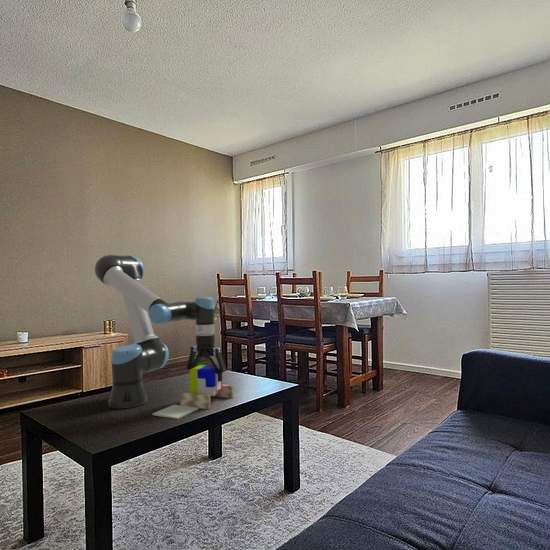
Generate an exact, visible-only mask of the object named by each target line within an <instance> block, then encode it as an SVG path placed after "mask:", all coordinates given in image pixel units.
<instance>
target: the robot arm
mask: <svg viewBox="0 0 550 550" xmlns="http://www.w3.org/2000/svg"><path fill="white" fill-rule="evenodd" d="M94 273H95V274H94V275H95V276H96V277H97V279H98V280H99V281H100V282H101V283H103V285H105V286H107V287H112V288H113V289H115V290H116V291H117V292H119V293H120V294H121V296H122V299H123V302H124V306H125V309H126V314H127V317H128V321H129V324H130V327H131V331H132V336H133V338H134V342H133V344H132V343H131V344H127V345H122V346H119V347H116V348H115V349H113V350H112V353H111V360H110V361H111V375H112V376H111V377H112V383H111V384H112V388H111V392H110V394H109V398H108V403H107V404H108V407H109V408H110V409H116V410H117V409H119V410H121V409H122V410H123V409H129V408H136V407H139V406H143V405H145V404H146V403H147V402H148V395H147V393H146V389H145V387H144V385H143V384H144V383H143V374H147V373H150V372H155V371H157V370H159V369H161V368H164V367H165V366H166V365H167V362H168V361H169V358H170V357H169V356H170V352H169V349H168V346H167V345H166V344H165V343H163V342H161V340H160V337H159V336H158V335H156V334H155V332H154V329H153V326H152V323H154V324H157V325H159V324H162V325H163V324H167V323H172V322H173V323H174V322H178V321H187V320H189V321H195V334H196V336H195V341H196V345H194V346H191V347H190V353H189V357H188V360H187V365H186V369H187V370H189V371H190V369H192V368H194V367H196V366H198V365H200V364H199V363H200V362H201V361H202V358H205V359H208V360H209V361H210V363H211V365H213V366H214V368H215V370H216V372H217V373H216V374H215V381H216V390H219V389H221V381H222V382H223V373H225V372H226V371H227V367H226V363H225V360H224V356H223V355H222V348H221V347H215V343H216V341H215V338H216V337H215V333H216V332H215V304H214V303H215V302H214V298H213V297H211V296H201V297H200V296H197V297H196V298H195V301H175V302H167V301H165V300H163V299H162V297H159V296H158V295H157V294H155V293H154V292H152V291H151V290H149V289H148V288H147V287H145V286H144V285H142V282H143V277H144V275H145V274H144V273H145V266H144V264H143V262H142V260H141V259H139V258H138V257H136V256H131V255H113V254H107V255H104V256H102V257H100V258H99V259H98V260H97V261H96V263H95V265H94Z"/></svg>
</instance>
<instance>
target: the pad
mask: <svg viewBox="0 0 550 550" xmlns="http://www.w3.org/2000/svg"><path fill="white" fill-rule="evenodd" d="M198 410H199V408H196V407H189V406H181V405H180V404H172V405H170V406H167V407H164V408H162V409H160V410H158V411H155V412H153V413H152V416H156V417H163V418H168V419H169V418H170V419H175V420H179V419H180V418H183V417H186V416H187V415H190V414H191V413H193V412H195V411H198Z"/></svg>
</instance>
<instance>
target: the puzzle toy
mask: <svg viewBox="0 0 550 550" xmlns="http://www.w3.org/2000/svg"><path fill="white" fill-rule="evenodd" d="M216 373H217V372H216V370H215V368H214V366H213V364H198V366H196V367H194V368H192V369H190V370H189V393H193V394H202V395H210V397H215V396H214V395H215V394H217V393H218V392H219V391H220V390H222V385H223V380H222V381H221V389H219V390H216V381H215V374H216Z"/></svg>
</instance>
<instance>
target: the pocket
mask: <svg viewBox="0 0 550 550" xmlns="http://www.w3.org/2000/svg"><path fill="white" fill-rule="evenodd" d="M213 397H215V398H216V397H218V398H225V397H226V398H225V399H233V398H234V385H231V384H230V385H229V384H222V390H220V391H219V392H218V393H217V394H215V395H214V396H213ZM179 400H180V402H179V403H180V404H179V405H181V406H189V407H196V408H198V409H205V410H211V409H212V407H211V404H212V403H211V400H212V399H211V396H210V395H202V394H193V393H190V392H183V391H182V392H180V393H179Z"/></svg>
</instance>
